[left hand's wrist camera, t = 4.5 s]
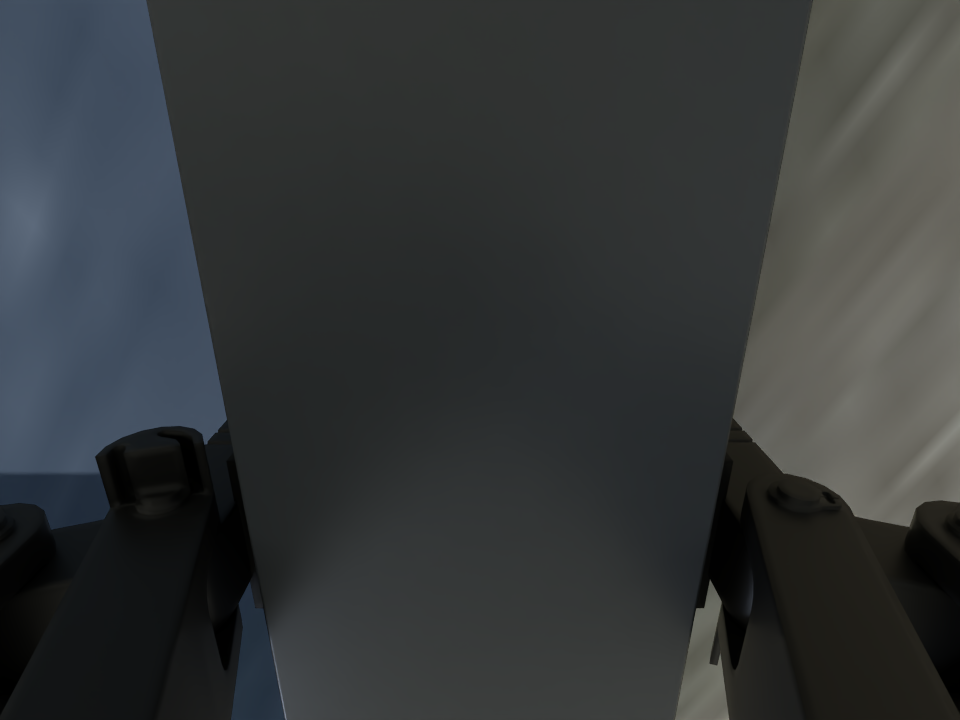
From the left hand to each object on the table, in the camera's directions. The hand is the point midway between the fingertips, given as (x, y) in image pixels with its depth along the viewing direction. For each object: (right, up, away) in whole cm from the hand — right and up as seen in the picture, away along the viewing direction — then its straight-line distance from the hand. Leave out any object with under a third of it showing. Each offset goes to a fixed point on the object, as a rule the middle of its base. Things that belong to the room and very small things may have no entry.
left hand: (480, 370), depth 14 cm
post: (0, +31, -12) cm, 33 cm away
